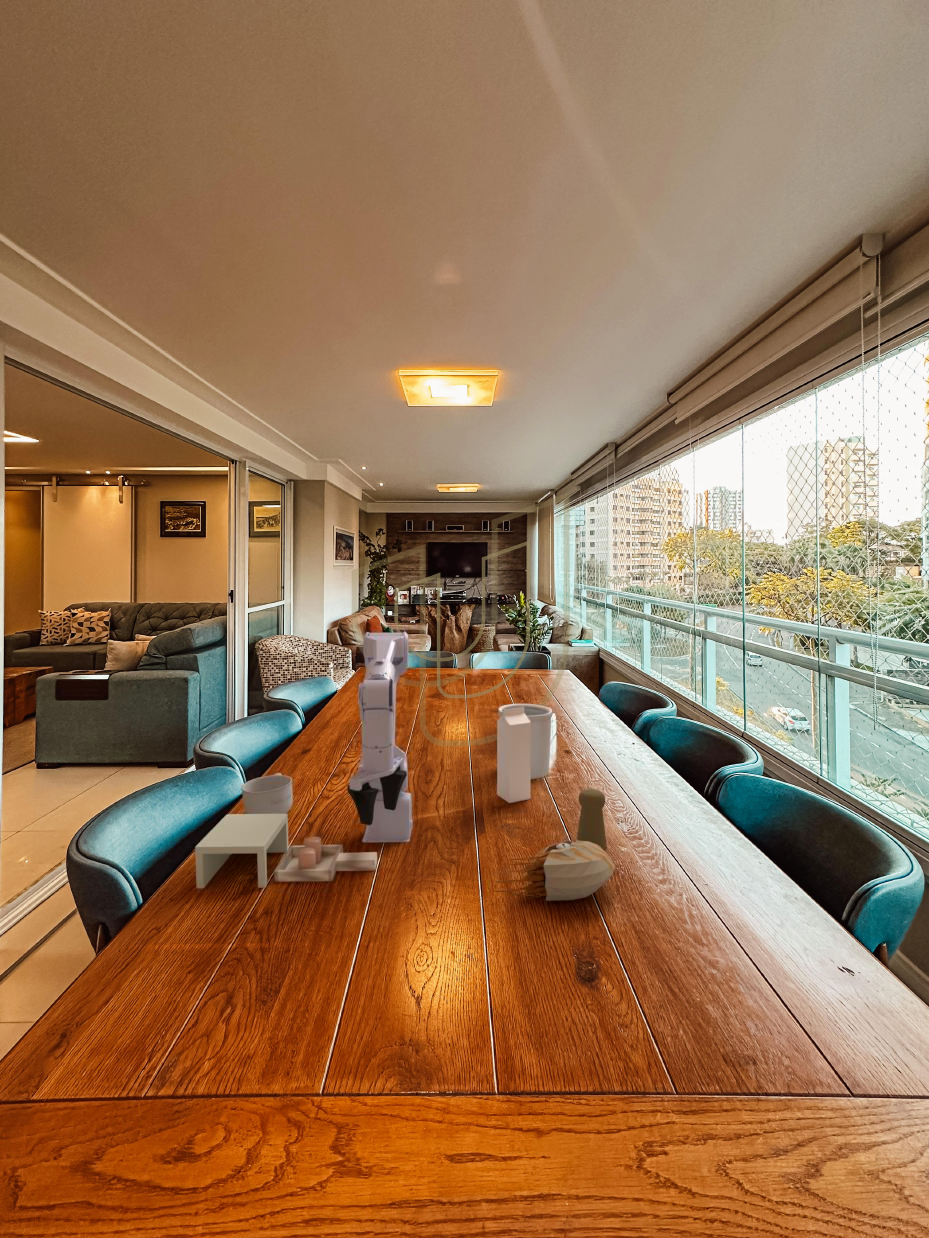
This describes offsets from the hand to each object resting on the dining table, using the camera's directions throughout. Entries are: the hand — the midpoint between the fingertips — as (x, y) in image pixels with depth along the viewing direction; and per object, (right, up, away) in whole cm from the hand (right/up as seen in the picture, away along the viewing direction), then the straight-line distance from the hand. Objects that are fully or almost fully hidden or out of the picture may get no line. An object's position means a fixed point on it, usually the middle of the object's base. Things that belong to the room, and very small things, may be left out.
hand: (378, 816), depth 109 cm
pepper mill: (+41, -9, +8) cm, 43 cm away
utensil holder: (+33, -6, +53) cm, 63 cm away
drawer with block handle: (-9, -9, -1) cm, 13 cm away
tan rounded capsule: (-12, -9, +1) cm, 15 cm away
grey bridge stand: (-24, -9, -2) cm, 26 cm away
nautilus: (+31, -10, -9) cm, 34 cm away
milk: (+28, -7, +34) cm, 45 cm away
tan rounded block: (-12, -9, -4) cm, 16 cm away
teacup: (-28, -8, +24) cm, 38 cm away
